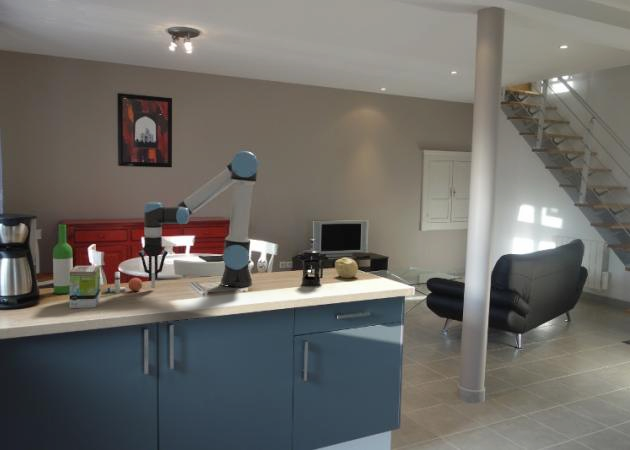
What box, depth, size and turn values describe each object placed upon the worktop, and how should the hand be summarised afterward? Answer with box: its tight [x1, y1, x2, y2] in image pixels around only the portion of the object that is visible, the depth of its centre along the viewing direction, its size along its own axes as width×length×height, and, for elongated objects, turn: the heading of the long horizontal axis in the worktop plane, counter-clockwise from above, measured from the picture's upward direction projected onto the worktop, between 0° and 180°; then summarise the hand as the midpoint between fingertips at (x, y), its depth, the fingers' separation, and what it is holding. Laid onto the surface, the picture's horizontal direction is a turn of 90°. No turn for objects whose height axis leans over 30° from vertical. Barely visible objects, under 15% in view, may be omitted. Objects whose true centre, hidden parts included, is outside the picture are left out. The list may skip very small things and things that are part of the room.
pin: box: [114, 273, 121, 295], centre depth 229 cm, size 2×2×8 cm
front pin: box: [104, 286, 126, 293], centre depth 232 cm, size 2×2×8 cm
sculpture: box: [334, 256, 359, 279], centre depth 281 cm, size 12×12×11 cm
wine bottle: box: [52, 224, 74, 295], centre depth 227 cm, size 8×8×30 cm
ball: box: [128, 277, 143, 292], centre depth 234 cm, size 6×6×6 cm
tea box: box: [68, 265, 101, 309], centre depth 209 cm, size 15×10×15 cm, turn 17°
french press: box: [301, 238, 324, 287], centre depth 259 cm, size 12×9×23 cm
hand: (153, 287), depth 237 cm, fingers closed
